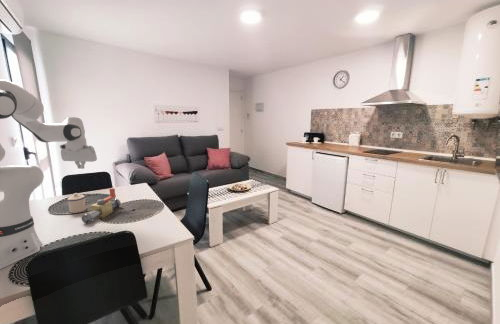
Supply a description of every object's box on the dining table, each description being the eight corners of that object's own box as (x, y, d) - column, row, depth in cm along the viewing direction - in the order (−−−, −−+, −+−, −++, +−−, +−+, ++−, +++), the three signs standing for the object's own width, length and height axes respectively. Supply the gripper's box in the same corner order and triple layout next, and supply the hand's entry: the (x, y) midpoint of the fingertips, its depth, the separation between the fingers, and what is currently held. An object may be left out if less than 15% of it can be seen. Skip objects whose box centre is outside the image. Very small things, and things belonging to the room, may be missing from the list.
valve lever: (101, 204, 131) (100, 194, 129) (95, 204, 131) (94, 194, 130) (116, 196, 143) (115, 188, 142) (111, 196, 143) (110, 187, 142)
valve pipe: (92, 223, 122) (90, 211, 121) (81, 223, 123) (79, 210, 122) (122, 207, 146) (120, 196, 144) (112, 206, 147) (111, 195, 145)
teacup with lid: (90, 208, 143) (87, 192, 140) (75, 214, 134) (72, 196, 132) (78, 206, 147) (75, 189, 145) (63, 211, 139) (59, 194, 136)
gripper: (97, 145, 129) (101, 167, 131) (67, 144, 131) (71, 166, 134) (88, 146, 122) (92, 170, 125) (57, 145, 125) (61, 169, 128)
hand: (81, 168), depth 130 cm, fingers closed
